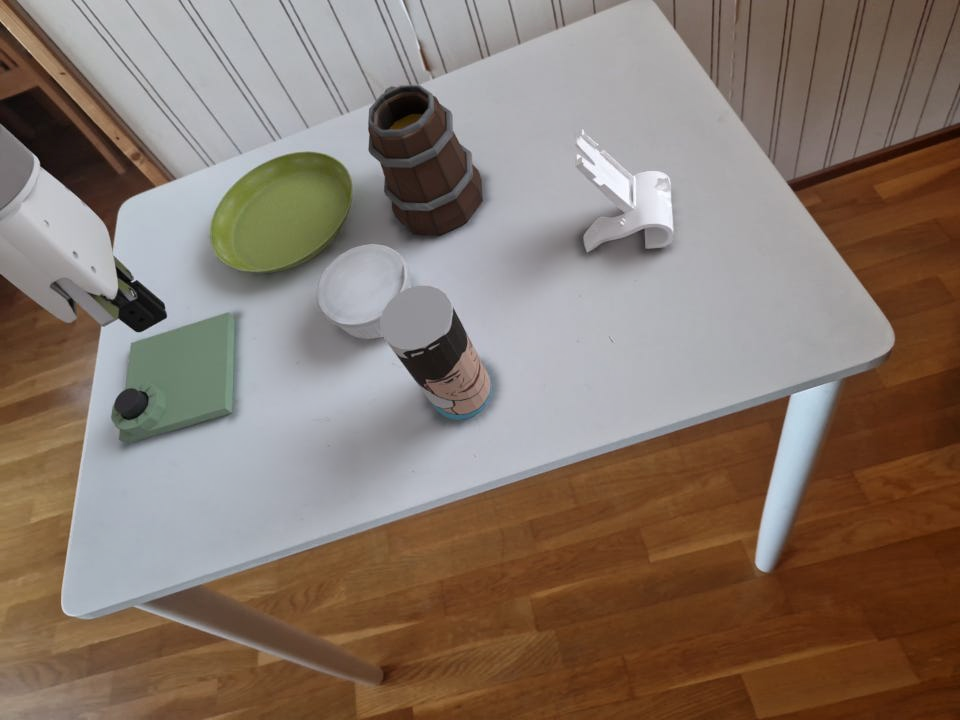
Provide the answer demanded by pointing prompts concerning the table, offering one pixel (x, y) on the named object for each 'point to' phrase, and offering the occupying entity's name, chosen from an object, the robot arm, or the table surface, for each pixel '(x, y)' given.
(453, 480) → the table surface
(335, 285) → the ramekin
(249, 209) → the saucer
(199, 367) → the scale
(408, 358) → the cup
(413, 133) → the mug
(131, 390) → the button
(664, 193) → the plastic part
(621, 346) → the table surface
